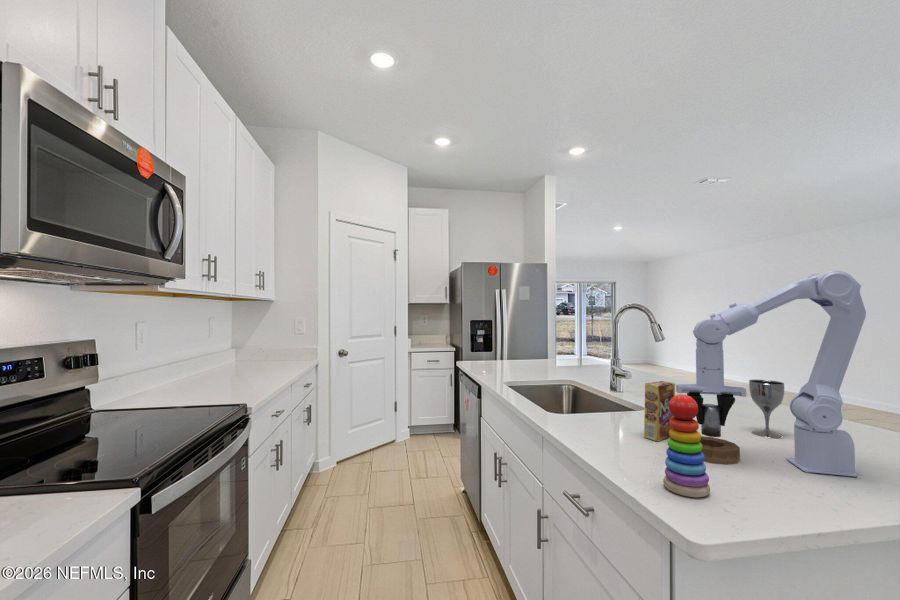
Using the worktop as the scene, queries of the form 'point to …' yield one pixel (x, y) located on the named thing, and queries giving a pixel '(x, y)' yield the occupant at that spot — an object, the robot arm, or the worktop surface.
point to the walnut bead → (719, 451)
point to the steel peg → (711, 420)
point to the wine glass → (766, 401)
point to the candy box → (658, 410)
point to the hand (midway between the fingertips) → (710, 424)
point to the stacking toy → (685, 451)
